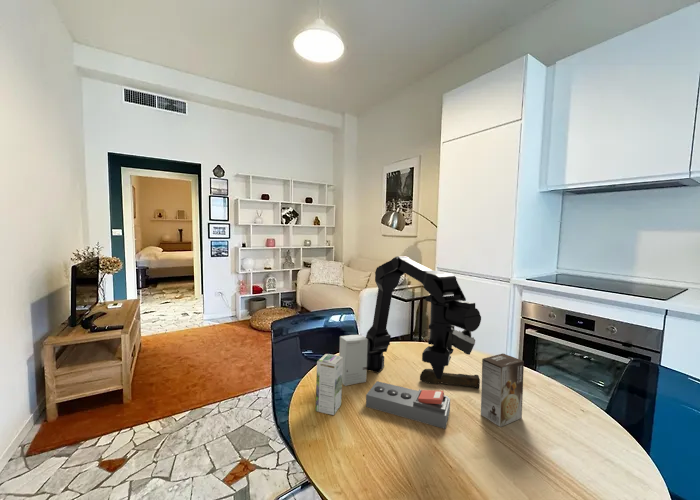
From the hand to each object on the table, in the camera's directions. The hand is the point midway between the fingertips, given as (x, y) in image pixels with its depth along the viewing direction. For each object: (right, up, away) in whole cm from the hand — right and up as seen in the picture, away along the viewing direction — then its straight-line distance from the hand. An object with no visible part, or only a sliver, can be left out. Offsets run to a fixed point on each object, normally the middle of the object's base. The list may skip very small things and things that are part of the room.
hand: (439, 377), depth 81 cm
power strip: (-8, -11, +4) cm, 14 cm away
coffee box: (+17, -12, +1) cm, 21 cm away
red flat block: (-2, -6, +1) cm, 6 cm away
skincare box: (-23, -10, +20) cm, 33 cm away
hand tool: (+9, -11, +18) cm, 23 cm away
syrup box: (-30, -11, +4) cm, 32 cm away
